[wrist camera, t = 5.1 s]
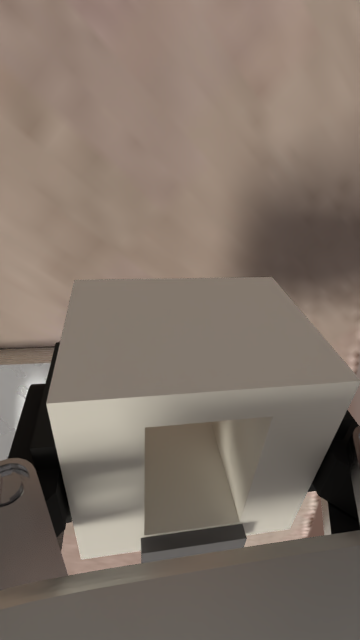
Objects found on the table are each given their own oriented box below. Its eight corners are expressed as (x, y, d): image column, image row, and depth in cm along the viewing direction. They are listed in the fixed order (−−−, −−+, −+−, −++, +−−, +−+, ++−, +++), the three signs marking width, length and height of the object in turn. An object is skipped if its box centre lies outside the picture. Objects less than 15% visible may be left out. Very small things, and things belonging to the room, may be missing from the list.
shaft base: (-102, 352, 19) (-214, 472, 13) (146, 344, 21) (155, 443, 15) (-27, 510, 27) (-73, 629, 21) (145, 492, 29) (151, 596, 23)
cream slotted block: (74, 279, 10) (42, 421, 6) (272, 276, 11) (373, 394, 7) (91, 420, 14) (79, 576, 9) (241, 408, 15) (295, 543, 10)
